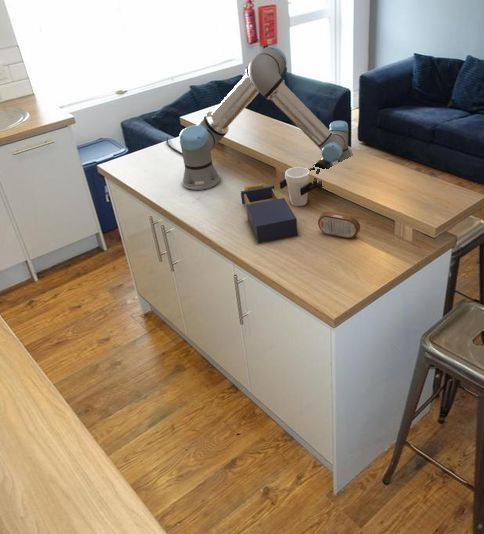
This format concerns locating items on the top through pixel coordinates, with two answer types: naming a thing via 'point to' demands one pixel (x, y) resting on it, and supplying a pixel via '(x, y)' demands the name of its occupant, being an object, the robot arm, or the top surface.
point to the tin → (338, 225)
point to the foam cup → (297, 184)
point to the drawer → (258, 194)
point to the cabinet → (271, 220)
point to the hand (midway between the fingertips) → (290, 188)
